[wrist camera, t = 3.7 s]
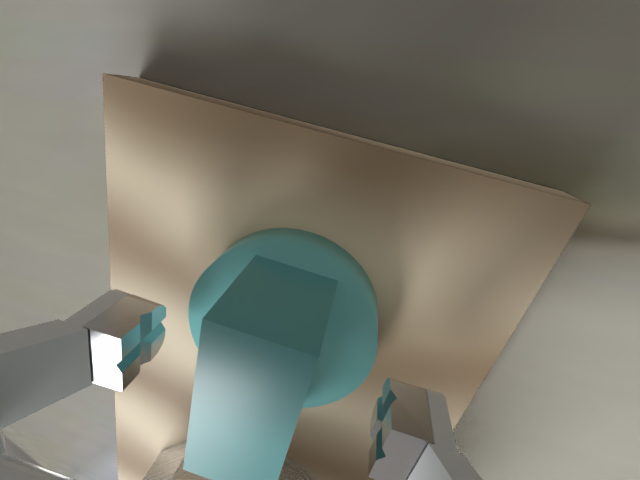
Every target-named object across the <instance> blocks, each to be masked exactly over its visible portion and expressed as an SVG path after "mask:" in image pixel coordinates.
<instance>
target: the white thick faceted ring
mask: <svg viewBox="0 0 640 480" xmlns="http://www.w3.org/2000/svg"><path fill="white" fill-rule="evenodd" d="M186 442H187V440H184V441H182V442H180V443H177V444H175V445H173V446H171V447H168V448H166V449H164V450H161V452H160V453H159V455H158V456H157V458H156V459H155V461H154V463H153V464H152V466H151V467H150V469H149V470H148V472H147V473H146V475H145V476H144V478H143V480H211V479H208V478H205V477H202V476H200V475H197V474H194V473H191V472H189V471H186V470H183V466H184V458H185V450H186ZM278 480H316V479H315V478H314V477H313V476H312V474H311V473H310V472H309V471H308V470H307V469H306V468H305V467H304V466H303V465H301V464H299V463H297V462H295V461H293V460H290V459H288V458H286V457H285V460H284V463H283V466H282V469H281V472H280V475H279V478H278Z"/></svg>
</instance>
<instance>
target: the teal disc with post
mask: <svg viewBox="0 0 640 480" xmlns="http://www.w3.org/2000/svg"><path fill="white" fill-rule="evenodd" d="M188 318H189V326H190V330H191V334H192V337H193V339H194V342H195V344H196V346H197V348H198V355H197V363H196V371H195V379H194V387H193V395H192V403H191V411H190V418H189V426H188V434H187V442H186V450H185V458H184V466H183V470H186V471H189V472H191V473H194V474H197V475H200V476H202V477H205V478H208V479H211V480H278V478H279V475H280V472H281V469H282V466H283V463H284V460H285V457H286V454H287V452H288V449H289V446H290V443H291V440H292V437H293V434H294V431H295V428H296V425H297V422H298V419H299V416H300V413H301V410H302V408H310V407H318V406H322V405H327V404H330V403H332V402H335V401H338V400H340V399H342V398H344V397H346V396H347V395H349V394H350V393H352V392H353V391H354V390H356V389H357V388H358V387H359V386H360V385H361V384H362V383H363V381H364V380H365V379H366V378H367V376H368V375H369V373H370V371H371V369H372V367H373V364H374V361H375V359H376V354H377V347H378V303H377V297H376V294H375V291H374V288H373V285H372V283H371V281H370V279H369V277H368V275H367V274H366V272H365V271H364V269H363V268H362V266H361V265H360V264H359V263H358V262H357V261H356V260H355V258H354V257H353V256H351V255H350V254H349V253H348V252H347V251H346V250H345V249H343V248H342V247H340V246H339V245H337V244H336V243H334V242H332V241H330V240H329V239H327V238H325V237H323V236H320V235H317V234H315V233H312V232H308V231H304V230H300V229H292V228H273V229H266V230H261V231H258V232H254V233H252V234H249V235H247V236H245V237H243V238H241V239H240V240H238V241H237V242H235V243H234V244H233V245H232V246H230V247H229V248H228V249H227V250H226V251H225V252H224V253H223V254H222V255H221V256H220V257H219V258H217V259H216V260H215V261H214V262H213V263H212V264H211V265H210V266H209V267H208V268H207V269H206V270H205V271H204V272H203V273H202V275H201V276H200V277H199V278H198V280H197V282H196V284H195V286H194V288H193V290H192V293H191V296H190V301H189V309H188Z"/></svg>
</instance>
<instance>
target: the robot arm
mask: <svg viewBox="0 0 640 480" xmlns="http://www.w3.org/2000/svg"><path fill="white" fill-rule="evenodd" d="M165 317H166V307H165V306H164V305H162V304H159V303H156V302H153V301H150V300H147V299H145V298H142V297H139V296H136V295H133V294H129V293H126V292H123V291H121V290H118V289H114V290H110V291H108V292H107V293H105V294H104V295H102V296H101V297H99V298H98V299H96V300H95V301H93V302H92V303H90V304H89V305H87V306H86V307H84V308H83V309H81V310H80V311H78V312H77V313H75V314H74V315H72V316H71V317H69V318H68V319H66V320H65V321H61V320H54V321H50V322H46V323H42V324H38V325H34V326H30V327H26V328H22V329H18V330H14V331H10V332H6V333H2V334H0V480H75V479H72V478H69V477H67V476H64V475H61V474H59V473H56V472H53V471H51V470H48V469H45V468H42V467H40V466H37V465H34V464H32V463H29V462H26V461H23V460H21V459H18V458H15V457H13V456H10V455H7V454H5V453H4V452H5V448H6V443H5V439H4V435H3V432H2V428H4V427H6V426H8V425H10V424H12V423H14V422H16V421H18V420H20V419H22V418H24V417H26V416H28V415H30V414H32V413H34V412H36V411H38V410H40V409H42V408H45V407H47V406H49V405H51V404H53V403H55V402H57V401H59V400H61V399H63V398H65V397H67V396H69V395H71V394H73V393H75V392H77V391H79V390H81V389H83V388H86V387H88V386H90V385H91V384H92V383H95V384H98V385H101V386H105V387H108V388H111V389H114V390H117V391H121V392H123V391H124V390H125V388H126V387H127V386H128V385H129V384H130V383H131V382H132V381H133V380H134V379H135V378H136V377H137V375H138V374H139V373H140V365H142V364H144V363H147V362H149V361H151V360H152V359H153V358H154V357H155V356H156V354H157V353H158V352H159V350H160V348H161V346H162V344H163V341H164V338H165V330H166V329H165V327H164V326H163V324H162V322H161V321H162V320H163V319H164V318H165ZM370 436H371V438H372V439H373V443H372V445H371V448H370V450H369V468H368V477H370V478H372V479H375V480H482V479H481V477H480V476H479V474H478V473H477V472H476V470H475V469H474V468H473V466H472V465H471V464H470V462H469V461H468V460H467V458H466V457H465V456H464V455H463V454H461V453H458V452H457V448H456V443H455V438H454V434H453V429H452V425H451V420H450V416H449V411H448V407H447V402H446V397H445V396H444V395H443V394H442V393H439V392H435V391H432V390H429V389H425V388H422V387H418V386H415V385H412V384H409V383H405V382H402V381H399V380H396V379H393V378H389V377H388V378H387V379H386V380H385V383H384V385H383V389H382V396H381V397H379V398H377V401H376V403H375V406H374V409H373V413H372V417H371V424H370Z"/></svg>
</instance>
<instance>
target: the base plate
mask: <svg viewBox="0 0 640 480" xmlns="http://www.w3.org/2000/svg"><path fill="white" fill-rule="evenodd" d="M103 95H104V121H105V148H106V174H107V200H108V226H109V252H110V278H111V290H114V289H118V290H121V291H123V292H126V293H129V294H133V295H136V296H139V297H142V298H145V299H147V300H150V301H153V302H156V303H159V304H162V305H164V306H165V307H166V317H165V318H164V319H163V320H162V321H161V322H162V324H163V326H164V327H165V329H166V330H165V338H164V341H163V344H162V346H161V348H160V350H159V352H158V353H157V354H156V356H155V357H154V358H153V359H152V360H151V361H149V362H147V363H144V364H142V365H140V373H139V374H138V375H137V377H136V378H135V379H134V380H133V381H132V382H131V383H130V384H129V385H128V386H127V387H126V388H125V390H124V391H123V392H121V391H117V390H115V409H116V435H117V461H118V480H143V478H144V476H145V475H146V473H147V472H148V470H149V469H150V467H151V466H152V464H153V463H154V461H155V459H156V458H157V456H158V455H159V453H160V452H161V450H164V449H166V448H168V447H171V446H173V445H175V444H177V443H180V442H182V441H184V440H187V434H188V426H189V418H190V411H191V403H192V395H193V387H194V379H195V371H196V363H197V355H198V348H197V346H196V344H195V342H194V339H193V337H192V334H191V330H190V326H189V318H188V309H189V301H190V296H191V293H192V290H193V288H194V286H195V284H196V282H197V280H198V278H199V277H200V276H201V275H202V273H203V272H204V271H205V270H206V269H207V268H208V267H209V266H210V265H211V264H212V263H213V262H214V261H215V260H216V259H217V258H219V257H220V256H221V255H222V254H223V253H224V252H225V251H226V250H227V249H228V248H229V247H230V246H232V245H233V244H234V243H235V242H237V241H238V240H240V239H241V238H243V237H245V236H247V235H249V234H252V233H254V232H258V231H261V230H266V229H273V228H292V229H300V230H304V231H308V232H312V233H315V234H317V235H320V236H323V237H325V238H327V239H329V240H330V241H332V242H334V243H336V244H337V245H339V246H340V247H342V248H343V249H345V250H346V251H347V252H348V253H349V254H350V255H351V256H353V257H354V258H355V260H356V261H357V262H358V263H359V264H360V265H361V266H362V268H363V269H364V271H365V272H366V274H367V275H368V277H369V279H370V281H371V283H372V285H373V288H374V291H375V294H376V297H377V303H378V347H377V354H376V359H375V361H374V364H373V367H372V369H371V371H370V373H369V375H368V376H367V378H366V379H365V380H364V381H363V383H362V384H361V385H360V386H359V387H358V388H357V389H356V390H354V391H353V392H352V393H350V394H349V395H347V396H346V397H344V398H342V399H340V400H338V401H335V402H332V403H330V404H327V405H322V406H318V407H310V408H302V410H301V413H300V416H299V419H298V422H297V425H296V428H295V431H294V434H293V437H292V440H291V443H290V446H289V449H288V452H287V454H286V458H288V459H290V460H293V461H295V462H297V463H299V464H301V465H303V466H304V467H305V468H306V469H307V470H308V471H309V472H310V473H311V474H312V476H313V477H314V478H315V479H316V480H375V479H372V478H370V477H368V468H369V450H370V448H371V445H372V443H373V439H372V438H371V436H370V424H371V417H372V413H373V409H374V406H375V403H376V401H377V398H379V397H381V396H382V389H383V385H384V383H385V380H386V379H387V378H388V377H389V378H393V379H396V380H399V381H402V382H405V383H409V384H412V385H415V386H418V387H422V388H425V389H429V390H432V391H435V392H439V393H442V394H443V395H444V396H445V397H446V402H447V407H448V411H449V416H450V420H451V425H452V429H453V430H454V428H455V426H456V425H457V423H458V421H459V420H460V418H461V417H462V415H463V413H464V412H465V410H466V408H467V407H468V405H469V403H470V402H471V400H472V399H473V397H474V395H475V394H476V392H477V390H478V389H479V387H480V385H481V384H482V382H483V381H484V379H485V377H486V376H487V374H488V372H489V371H490V369H491V368H492V366H493V364H494V363H495V361H496V359H497V358H498V356H499V354H500V353H501V351H502V350H503V348H504V346H505V345H506V343H507V341H508V340H509V338H510V336H511V335H512V333H513V332H514V330H515V328H516V327H517V325H518V323H519V322H520V320H521V319H522V317H523V315H524V314H525V312H526V310H527V309H528V307H529V305H530V304H531V302H532V301H533V299H534V297H535V296H536V294H537V292H538V291H539V289H540V287H541V286H542V284H543V283H544V281H545V279H546V278H547V276H548V274H549V273H550V271H551V270H552V268H553V266H554V265H555V263H556V261H557V260H558V258H559V256H560V255H561V253H562V252H563V250H564V248H565V247H566V245H567V243H568V242H569V240H570V238H571V237H572V235H573V234H574V232H575V230H576V229H577V227H578V225H579V224H580V222H581V221H582V219H583V217H584V216H585V214H586V212H587V211H588V209H589V207H590V206H591V205H590V204H588V203H586V202H584V201H582V200H580V199H578V198H576V197H573V196H571V195H569V194H567V193H565V192H563V191H560V190H556V189H552V188H548V187H545V186H541V185H537V184H534V183H530V182H526V181H522V180H519V179H515V178H511V177H507V176H504V175H500V174H496V173H493V172H489V171H485V170H481V169H478V168H474V167H470V166H466V165H463V164H459V163H455V162H451V161H448V160H444V159H440V158H437V157H433V156H429V155H425V154H422V153H418V152H414V151H410V150H407V149H403V148H399V147H396V146H392V145H388V144H384V143H381V142H377V141H373V140H369V139H366V138H362V137H358V136H355V135H351V134H347V133H343V132H340V131H336V130H332V129H328V128H325V127H321V126H317V125H313V124H310V123H306V122H302V121H299V120H295V119H291V118H287V117H284V116H280V115H276V114H272V113H269V112H265V111H261V110H258V109H254V108H250V107H246V106H243V105H239V104H235V103H231V102H228V101H224V100H220V99H217V98H213V97H209V96H205V95H202V94H198V93H194V92H190V91H187V90H183V89H179V88H175V87H172V86H168V85H164V84H161V83H157V82H153V81H149V80H146V79H142V78H138V77H130V76H121V75H113V74H104V73H103Z"/></svg>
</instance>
